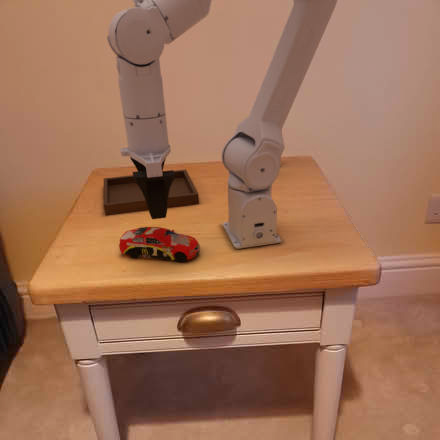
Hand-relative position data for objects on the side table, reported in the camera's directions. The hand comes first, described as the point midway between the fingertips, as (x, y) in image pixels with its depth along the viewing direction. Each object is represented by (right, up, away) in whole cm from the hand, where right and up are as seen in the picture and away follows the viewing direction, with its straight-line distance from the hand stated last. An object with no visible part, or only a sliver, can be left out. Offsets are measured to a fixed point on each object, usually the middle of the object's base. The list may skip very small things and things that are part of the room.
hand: (156, 207), depth 65 cm
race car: (0, -7, +4) cm, 8 cm away
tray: (-5, +8, +25) cm, 26 cm away
